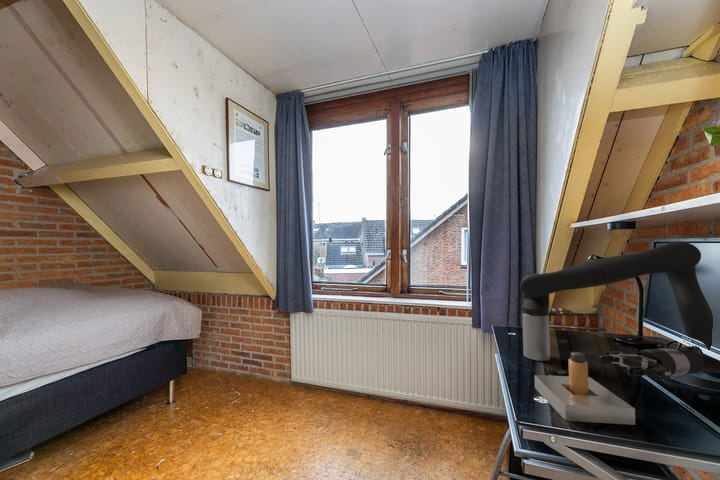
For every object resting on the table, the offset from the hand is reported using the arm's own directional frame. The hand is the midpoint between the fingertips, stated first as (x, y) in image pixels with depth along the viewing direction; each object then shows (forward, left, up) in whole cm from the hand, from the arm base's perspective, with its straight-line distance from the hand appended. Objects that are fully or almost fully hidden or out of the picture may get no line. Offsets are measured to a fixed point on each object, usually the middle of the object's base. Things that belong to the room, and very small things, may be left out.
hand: (613, 365), depth 87 cm
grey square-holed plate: (+3, -11, -10) cm, 15 cm away
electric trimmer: (-15, -5, -11) cm, 19 cm away
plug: (+3, -11, -10) cm, 15 cm away
